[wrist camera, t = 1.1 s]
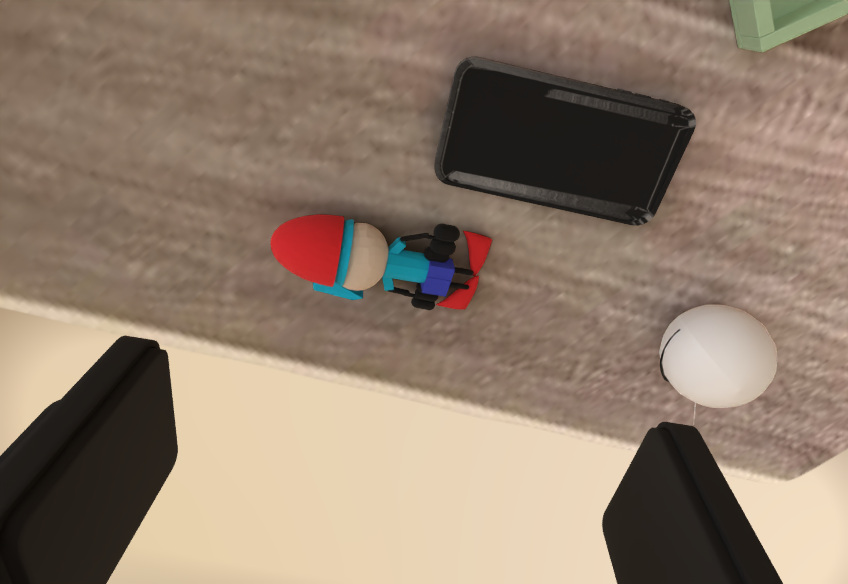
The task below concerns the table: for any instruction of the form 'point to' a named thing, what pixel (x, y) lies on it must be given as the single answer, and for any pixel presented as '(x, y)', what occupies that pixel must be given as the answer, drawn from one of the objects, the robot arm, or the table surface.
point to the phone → (560, 141)
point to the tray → (780, 20)
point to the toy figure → (376, 259)
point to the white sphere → (718, 356)
